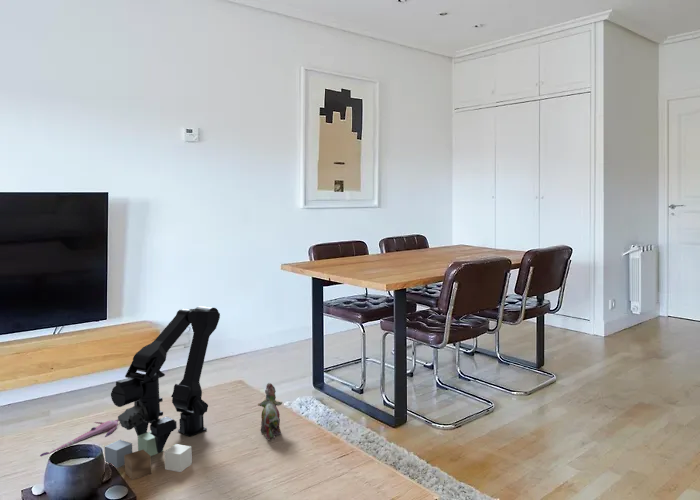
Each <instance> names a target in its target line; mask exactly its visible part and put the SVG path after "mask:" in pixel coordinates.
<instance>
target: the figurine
mask: <svg viewBox="0 0 700 500" xmlns="http://www.w3.org/2000/svg"><path fill="white" fill-rule="evenodd" d="M264 394H265V399H264V400H263V401H261V402H259V403H257V406H258V407H262V408H263V409H262V412H261V421H260V422H261V424H260V433H261V434H266V435H265V439H266V440H271V439H276V436H280V435H281V433H282V430H281V428H280V423H281V422H280V421H281V418H280V417H281V416H280V415H281V414H280V411H279V409H278V407H279V406H281V405H282V404H283V401H279V400H278V401H277V400H276V388H275V386H274V385H273V384H272V383H271V382H268V383H267V384H266V387H265V390H264ZM277 406H278V407H277Z"/></svg>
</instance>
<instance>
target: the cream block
mask: <svg viewBox="0 0 700 500" xmlns="http://www.w3.org/2000/svg"><path fill="white" fill-rule="evenodd" d="M163 452H164V455H163V456H164V469H165V470H166V471H167V470H168V471H173V472H178V473H181V472H183V471H184V470H185V469H187V468H188V467H190V466H192V464H193V456H192V454H193V453H192V452H193V450H192V446H191V445H184V444H178V443H175V444H174V445H172V446H171V447H169V448H167V449H166V450H163Z"/></svg>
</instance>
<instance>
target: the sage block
mask: <svg viewBox="0 0 700 500" xmlns="http://www.w3.org/2000/svg"><path fill="white" fill-rule="evenodd" d="M150 433H151V430H149V431H147V433H144V434H141V435H138V436H137V451H140V450H144V451H145V452H147V453H148V454H149V455H150V456H151V457H152V456H156V455H157V454H159V453H157V448H156V442H155V437H154V436H153V435H152V434H150ZM162 452H164V449H163V450H162ZM162 452H161V453H162Z"/></svg>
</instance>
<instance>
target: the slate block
mask: <svg viewBox="0 0 700 500" xmlns="http://www.w3.org/2000/svg"><path fill="white" fill-rule="evenodd" d="M130 453H133V443H132V442H128V441H125V440H124V439H118V440H116V441H113V442H112V443H109V444H108V445H105V446H104V462H105V461H106V462H108V463H112V464H113V465H114V466H115V467H114V468H116V467H117V469H118V468H121V467H122V466H125V460H124V455H127V454H130Z"/></svg>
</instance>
